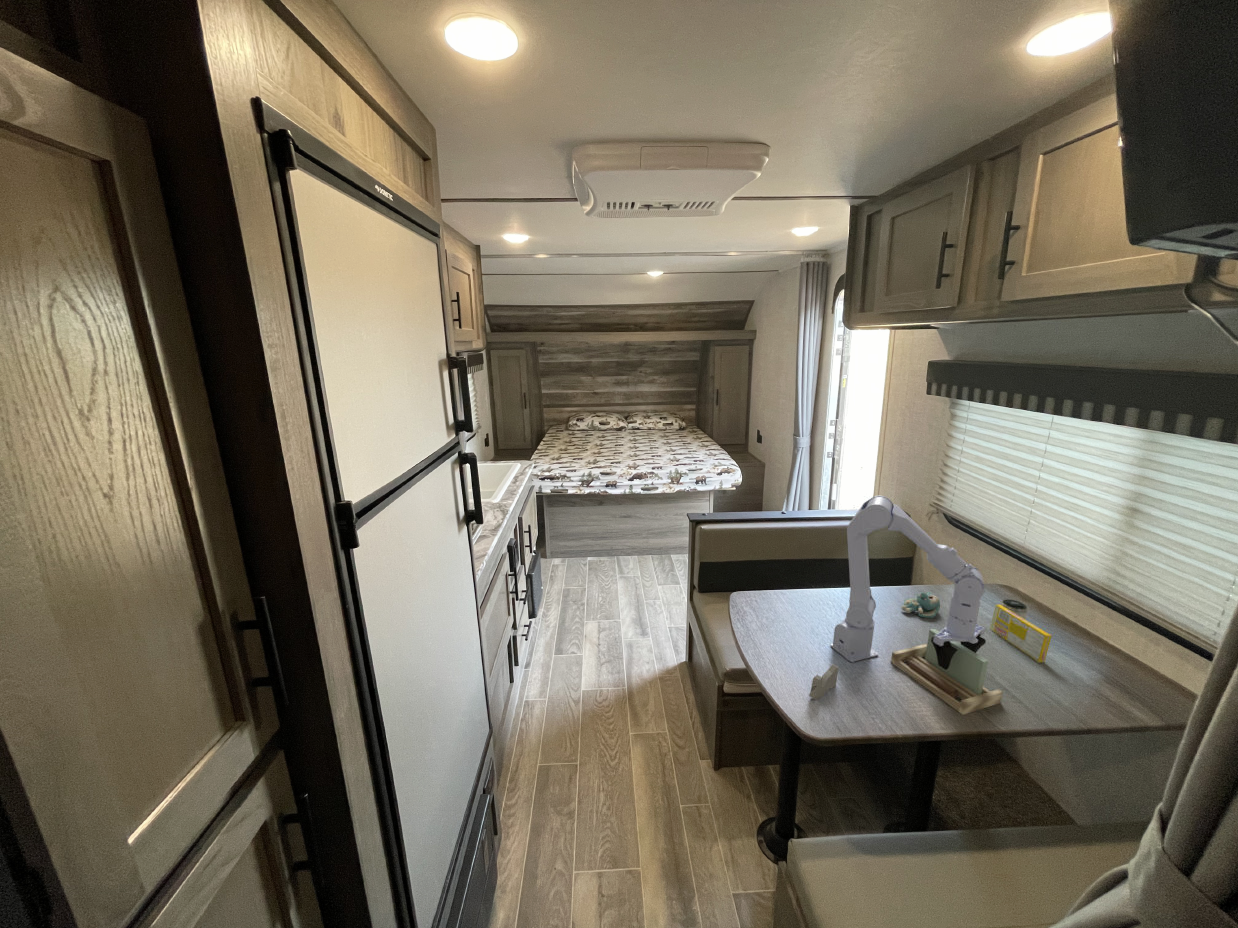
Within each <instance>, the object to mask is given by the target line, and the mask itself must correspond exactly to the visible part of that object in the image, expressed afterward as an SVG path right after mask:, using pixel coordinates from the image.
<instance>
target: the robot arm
mask: <svg viewBox="0 0 1238 928" xmlns="http://www.w3.org/2000/svg"><path fill="white" fill-rule="evenodd" d="M848 523H849V524H848V525H847V528H846V536H847V537H846V538H847V551H848V552H847V553H848V555H847V556H848V568H849V585H850V587H849V588H850V589H849V600H848V601H849V602H848V603H849V605H848V609H847V610H846V614H845V618H844V620H843V621H842V622H840V623H838V624H836V626H834V631H833V638H832V639H833V640H832V643H831V644H830V647H831V648H833V649H834V650H835V651H836V652H837V653H839V654H840V655H841V656H842V657H844V658H845V659H847V661H849V662H850V663H854V662H857V661H861V660H862V661H863V660H864V659H865V660H866V659H870V658H873V657H878V656H879V653H878V652H877V651H875V650H874V649H873V648H872V646H873V637H874V629H875V621H874V618H873V617H874V612H875V610H876V608H877V607H876V605H877V604H876V600H875V599H874V597H873V595H872V589H871V583H870V566H869V565H870V563H869V547H868V545H869V544H868V535H870V534H871V533H872V532H875V531H877V530H881V529H884V528H886V527H887V531H891V532H892V531H894V532H901V533H902V534H903V535H904V536H906V537H907V538H908V539H909V540H911V541H912V543H914V544H916V546H918V547H919V548H920V549H921V550H923V552H925V553H926V560H927V562H928V563H930V565H932V566H933V567H934V568H935V569H936V570H937V571H938V572H939V573H940V574H941V575H942V576H944V577H945V579H947V580H948V581H950V582H952V583H953V586H954V588H953V593H952V595H951V599H950V603H949V609H948V615H947V619H946V626H944V628H942V629H941V630H940V631H939V633H938V634H936V635H934V637H932V638H931V642H932V644H933V646H934V648H935V651H936V654H937V660H938V665H939V666H940V667H942V668H943V669H945V670H947V669H948V668H949V665H950V662H951V659H952V657H953V655H954V654H955V652H956V651H957V649H956V648H954V647H952V646H951V645H952V644H950V642H951V641H956V642H960V644H961V645H963V646H964V647H966V648H968V649H969V650H971V651H973V652H974V653H976V654H977V652H978V651H979V650H980V648H981V647H983V646H984V645H985V644H986V642H987V641H986V639H985V638H984V637H981V636H984V635H985V630H986V628H985V627H983V626H981V625H979V624H977V622H978V616H979V612H980V606H981V601H980V600H981V598H982V596H983V595H984V594H985V592H986V589H985V582H984V577H983V575H982V573H981V572H980V571H979V569H978V568H977V567H975V566H974V565H972V564H971V563H969V564H968V563H967V562H966V561H965V560H964V559H963V558H961V557H960V556H959V555H958V554H957V553H958V550H957V549H955V548H954V547H951V548H950V547H949V546H948V545H946V544H940V543H937V542H936V541H935V540H934V539H933V538H932V537H931V536H930V535H929V534H928V533H927V532H925V530H924V529H923V528H921V527H920V525H918V523H917V522H915V521H914V519H912V518H911V517H910V516H909V515H908V514H907V513H906V512H905V510H903V509H902V507H900V506H899V505H897V504H896V503H894V502H893V501H892V499H890V498H889V497H887V496H885V495H875V496H872V497H871V498H868V500H866V501H864V502H863V504H862V505H861V506H860V508H859V509H858V511H857V512H856V513H855V515H854V516H853V517H852V519H851V520H850V521H849V522H848Z"/></svg>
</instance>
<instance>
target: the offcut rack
mask: <svg viewBox="0 0 1238 928" xmlns="http://www.w3.org/2000/svg"><path fill="white" fill-rule="evenodd" d="M926 649H927V643H923V644H919V645H917V646H912V647H907V648H904V649H899V650H895V651H892V652H891V658H890V663H891V664H893V665H894V666H896V667H897V668H898V669H900V670H901V671H903V672H904V673H905V674H907V675H908V676H909V677H910V678H912V679H913V680H915V681H916V682H918V684H920V685H922V686H923V687H924V688H926V689H927V690H928V691H930V692H931V693H933V694H934V695H935V696H937V697H938V698H939V699H941V700H942V701H944V702H945V703H946V704H948V705H949V706H951V707H952V708H953V709H955V710H956V711H957V712H959V713H960V714H961V715H962V716H963V715H966V714H969V713H972V712H976V711H979V710H982V709H985V708H989V707H992V706H995V705H999V704H1001V701H1002V697H1003V690H1000V689H999V688H998V689H995V690H989V689H988V688H986V687H984V686H983V689H982V694H981V695H977V694H975V693H974V692H972V691H971V690H969V689H968V688H966V687H965V686H963V685H962V684H960V683H959V682H957V681H956V680H954V679H953V678H951V677H950V676H948V675H947V674H945V673H944V672H942V671H941V670H939V669H938V668H936V667H935V666H933V665H932V664H930V663H929V662H927V661H926V660H925V655H926ZM911 660H912V661H913V662H914V661H915V662H916V663H918V664H919V665H922V666H923V667H925V668H926V669H928V670H929V671H930V672H932V673H933V674H935V675H936V676H938V677H939V678H941V679H942V680H944V681H945V682H946V683H948V684H949V685H951V686H952V687H954V688H955V689H957V690H958V691H957V697H958V698H959V699H960V701H958V700H956V698H952V697H951V696H950V695H948V694H947V693H945V692H944V691H943V690H941V689H940V688H938V687H937V686H936V685H934V684H933V683H931V682H930V681H929V680H927V679H926V678H924V677H923V676H921V675H920V674H919V673H917V672H916V671H914V670H913V669H912V668H910V667H909V665H907V663H909V661H911ZM905 662H907V663H905Z"/></svg>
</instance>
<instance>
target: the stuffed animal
mask: <svg viewBox="0 0 1238 928" xmlns="http://www.w3.org/2000/svg"><path fill="white" fill-rule="evenodd" d="M940 608H941V601H940V599H939V598H938V596H936V595H934V594H932V593H931V592H929V591H927V592H924V591H922V592H920V593H919V594H917V596H916V597H907V598H904V600H903V605H902V606H901V610H902V611H905V613H906V614H911V613H912V612H918V617H921V618H922V619H923V618H924V619H933V618H935V616H937V613H939V611H940Z"/></svg>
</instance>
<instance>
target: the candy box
mask: <svg viewBox="0 0 1238 928" xmlns="http://www.w3.org/2000/svg"><path fill="white" fill-rule="evenodd" d="M989 630H991V631H993V632H994V633H995V634H996V635H998V636H1000V637H1001V638H1003V639H1004V640H1006V642H1008V643H1010V644H1011V645H1013V646H1014V647H1016V648H1017V649H1019V650H1020V651H1021V652H1023V653H1024V654H1026V655H1028V656H1029V657H1030V658H1031V659H1033V660H1034V661H1035V662H1037V663H1045V662H1046V658H1047V654H1048V650H1049V647H1050V644H1051V639H1052V636H1053V635H1051V634H1049V633H1048V632H1047V631H1045V630H1043V629H1041V628H1040V627H1038V626H1037V625H1035V624H1033V623H1032V622H1030V621H1028V620H1027V619H1026V620H1025V619H1023V618H1022V617H1020V616H1018V615H1017V614H1015V613H1013V612H1012V611H1010V610H1008V609H1007V608H1005V607H1004V606H1002V605H1001V604H995V605H994V610H993V614H992V618H991V623H990V625H989Z"/></svg>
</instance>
